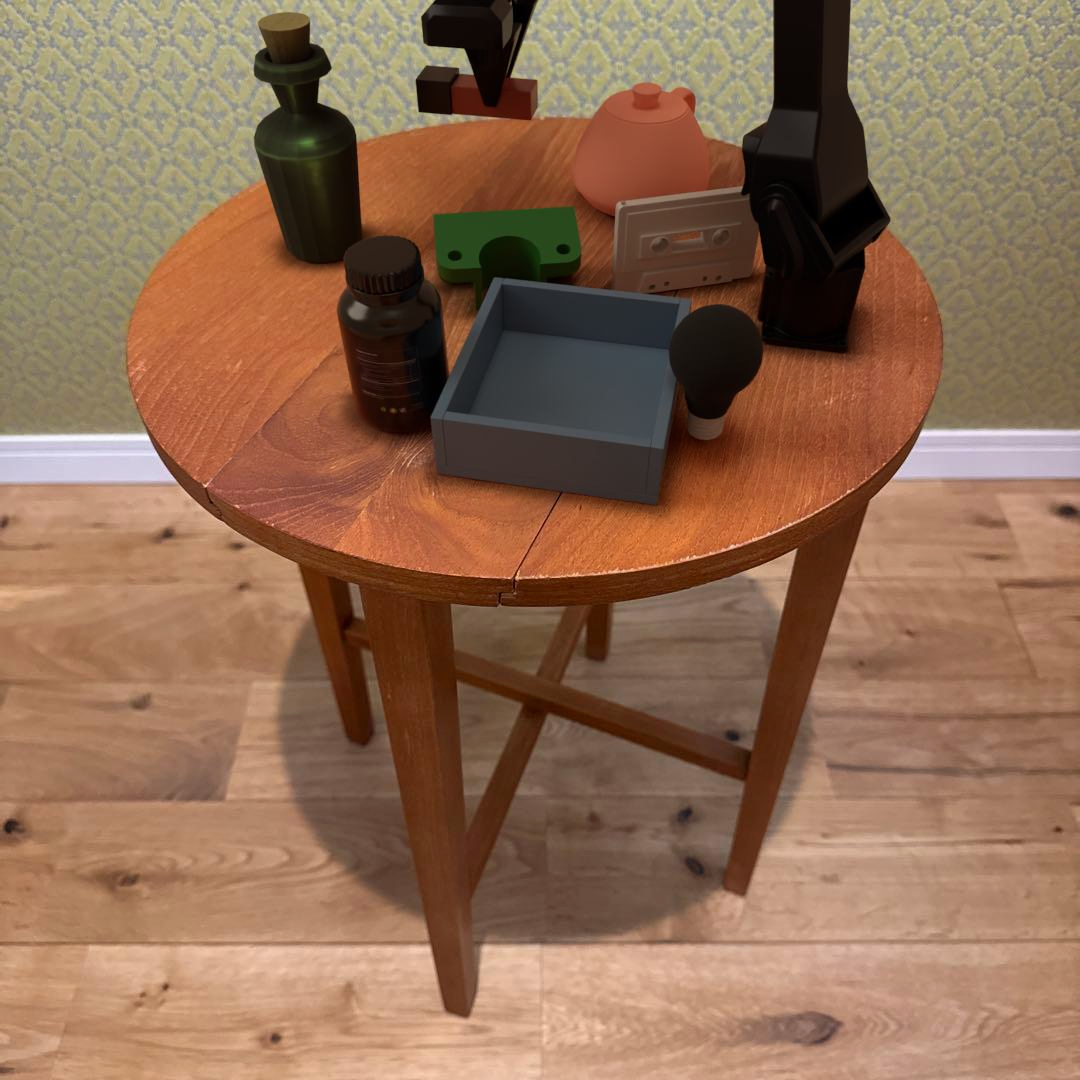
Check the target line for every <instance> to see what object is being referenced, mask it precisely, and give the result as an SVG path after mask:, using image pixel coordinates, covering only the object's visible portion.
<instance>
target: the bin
mask: <svg viewBox="0 0 1080 1080" xmlns="http://www.w3.org/2000/svg"><path fill="white" fill-rule="evenodd" d="M692 301H693V299H692V298H686V297H677V296H669V295H668V296H667V295H659V294H651V293H647V294H641V293H632V292H623V291H614V290H612V289H605V288H598V287H597V288H596V287H586V286H579V285H578V286H577V285H568V284H560V283H550V282H547V283H543V282H534V281H525V280H516V279H507V278H505V279H504V278H497V277H494V279H493V281H492V283H491V284H490V285H489V288H488V290H487V292H486V294H485V297H484V298H483V303H482V305H481V308H480V310H478V312H477V314H476V317H475V319H474V321H473V323H472V325H471V328H470V330H469V332H468V334H467V336H466V338H465V341H464V343H463V345H462V347H461V350H460V352H459V354H458V356H457V359H456V361H455V363H454V365H453V367H452V369H451V370H450V371H451V372H450V373H449V378H448V380H447V382H446V385H445V387H444V389H443V391H442V393H441V396H440V398H439V400H438V402H437V404H436V407H435V409H434V411H433V413H432V415H431V425H430V426H431V436H432V442H433V452H434V461H435V470H436V471H435V472H436V474H437V475H443V476H449V477H450V476H451V477H457V478H465V479H471V480H479V481H484V482H493V483H498V484H505V485H512V486H520V487H526V488H534V489H541V490H549V491H555V492H561V493H569V494H576V495H581V496H590V497H591V496H592V497H597V498H603V499H610V500H617V501H618V500H619V501H624V502H632V503H637V504H638V503H639V504H645V505H652V506H657V505H658V502H659V497H660V492H661V488H662V487H661V486H662V481H663V477H664V476H663V475H664V470H665V465H666V460H667V454H668V449H669V444H670V438H671V432H672V427H673V422H674V417H675V411H676V405H677V398H678V394H679V389H680V385H681V384H680V383H679V381H678V380H677V379H676V377H675V376H674V374H673V371H672V368H671V366H670V362H669V346H670V341H671V338H672V335H673V333H674V331H675V329H676V327H677V326H678V324H679V323H680V322H681V321H682V319H683V318H684V317H686V316H687V315H688V314H690V313H691V312H692V311H691V310H692V303H693V302H692Z"/></svg>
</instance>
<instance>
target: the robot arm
mask: <svg viewBox="0 0 1080 1080" xmlns="http://www.w3.org/2000/svg"><path fill="white" fill-rule="evenodd" d="M538 3H539V0H434V1H433V2H432V3H431V4H430V5H429V6H428V8H427V9H426V10H425V11H424V13H423V14H422V15H421V16H420V22H421V30H422V31H421V33H422V43H423V44H424V45H426V46H427V47H432V48H433V47H435V48H449V49H460V50H461V49H463V50H464V52H465V55H466V57H467V59H468V63H469V64H470V68H471V71H472V75H474V77H475V80H476V83H477V86H478V89H479V92H480V95H481V98H482V101H483V104H484V106H486V107H496V106H497V104H498V101H499V98H500V95H501V92H502V89H503V86H504V82H505V79H506V77H508V78H512V75H513V72H514V69H515V66H516V64H517V60H518V57H519V55H520V53H521V49H522V46H523V44H524V40H525V38H526V35H527V32H528V29H529V26H530V25H531V24H530V23H531V22H532V18H533V15H534V12H535V10H536V7H537V5H538ZM851 6H852V0H772V14H773V16H772V25H773V26H772V36H773V38H772V43H773V44H772V46H773V47H772V48H773V49H772V50H773V53H772V54H773V55H772V57H773V58H772V59H773V60H772V61H773V62H772V64H773V72H772V73H773V78H772V79H773V98H772V106H771V110H770V113H769V115H768V117H767V120H766V121H765V122H763V123H761V124H760V125H758V126H757V127H755V128H754V129H752V130H750V131H748V132H747V133H745V134H744V135H743V137H742V143H741V153H742V159H743V165H744V166H743V167H744V182H743V185H742V186H743V188H742V191H741V195H742V196H745V195H747V194H749V193H750V194H749V204H750V210H751V214H752V216H753V219H754V221H755V222H756V223H758V226H759V238H760V245H761V251H762V253H761V254H762V259H763V264H764V272H763V278H762V283H761V289H760V293H759V299H758V306H757V307H758V308H757V316H756V320H757V321H758V322H759V323H761V331H760V334H761V337H762V342H763V343H767V344H776V345H785V346H791V347H792V346H794V347H801V348H810V349H816V350H817V349H818V350H827V351H836V352H847V351H848V350H849V347H850V326H851V323H852V319H853V315H854V311H855V307H856V304H857V300H858V296H859V292H860V289H861V285H862V281H863V278H864V274H865V270H866V248H867V247H869V246H870V245H871V244H874V243H875V242H876V241H877V240H878V239H879V238H880V236H881V235H882V234H883V233H884V231H885V230H886V228H887V227H888V226H889V224H890V223H891V216H890V214H889V213H888V210H887V209H886V207H885V205H884V203H883V202H882V200H881V197H880V196H879V194H878V192H877V191H876V189H875V187H874V185H873V183H872V181H871V180H870V178H869V165H868V155H867V146H866V137H865V128H864V124H863V123H862V121H861V119H860V116H859V114H858V112H857V110H856V108H855V105H854V103H853V101H852V98H851V97H850V93H849V84H848V81H849V80H848V79H849V57H850V56H849V55H850V35H851V34H850V32H851V10H852V9H851V8H852V7H851Z"/></svg>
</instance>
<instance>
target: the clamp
mask: <svg viewBox="0 0 1080 1080" xmlns="http://www.w3.org/2000/svg"><path fill="white" fill-rule="evenodd" d="M576 214H577V213H576V207H575V206H574V205H572V206H571V205H570V206H554V207H552V206H551V207H538V208H537V207H535V208H518V209H501V210H499V209H498V210H482V211H465V212H448V213H433V214H432V220H433V235H434V247H435V261H436V271H437V275H438V277H439V279H440V280H441V281H442V282H444V283H446V284H449V285H467V284H473V295H474V302H475V303H474V304H475V311H479V310H480V308H481V305H482V303H483V301H484V298H483V294H484V291H485V290H486V289H487V288H488V287H490V286H491V283H492V281H493V279H494V277H497V278H504V279H505V278H507V279H516V280H525V281H534V282H543V283H548V279H559V278H560V279H561V278H564V277H567V276H571V275H574V274H575V273H576V272H578V271H579V270H580V268H581V266H582V265H581V263H582V253H583V252H582V251H583V248H582V243H581V238H580V232H579V226H578V220H577V215H576Z"/></svg>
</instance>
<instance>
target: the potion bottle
mask: <svg viewBox="0 0 1080 1080" xmlns="http://www.w3.org/2000/svg"><path fill="white" fill-rule="evenodd" d="M257 26H258V29H259V31H260V34H261V36H262V39H263V41H264V43H265V47H264V48H261V49H260V50H258V51H257V53H256V54H255V55H254V63H253V76H254V77H255V78H256V79H257V80H259V81H260V82H263V83H268V84H270V87H271V88H272V90H273V93H274V95H275V97H276V100H277V101H278V104H279V107H277V108H276V109H274V110H273V111H272V112H270V113H269V114H267V115H265V116H264V117H263V118H262V119H261V120H260V121H259V123H258V124H257V126H256V129H255V132H254V136H253V145H254V146H253V147H254V149H255V152H256V153H255V154H256V155H257V159H258V162H259V165H260V168H261V172H262V175H263V179H264V181H265V185H266V187H267V191H268V193H269V197H270V200H271V204H272V206H273V210H274V212H275V216H276V219H277V222H278V225H279V228H280V231H281V235H282V238H283V240H284V244H285V247H286V250H287V251H288V252H289V253H290V254H291V255H292V256H293V257H294V258H297V259H298V260H301V261H304V262H307V263H317V264H322V263H330V262H337V261H339V260H342V259H344V255H345V251H347V250H348V248H349V247H351V246H352V244H355V243H356V242H358V241H360V240H363V226H362V210H361V209H362V208H361V207H362V206H361V191H360V176H359V158H358V141H357V140H358V139H357V132H356V128H355V126H354V125H353V123H352V122H351V120H350V119H349V118H348V116H347V115H345V114H344V113H343V112H341V111H340V110H339V109H336V108H333V107H330V106H328V105H326V104H323V103H321V102H319V93H320V92H319V91H320V79H322V78H323V77H325V76H327V75H328V74H329V73H330V72H331V71H332V68H333V67H332V63H331V61H330V59H329V57H328V55H327V53H326V51H325V48H323V47H322V46H320V45H319V44H316V43H312V42H311V18H310V16H308V15H306V14H305V13H301V12H295V11H293V12H292V11H285V12H276V13H271V14H267V15H265V16H263V17H261V18H260V19H259V20H258V21H257Z"/></svg>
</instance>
